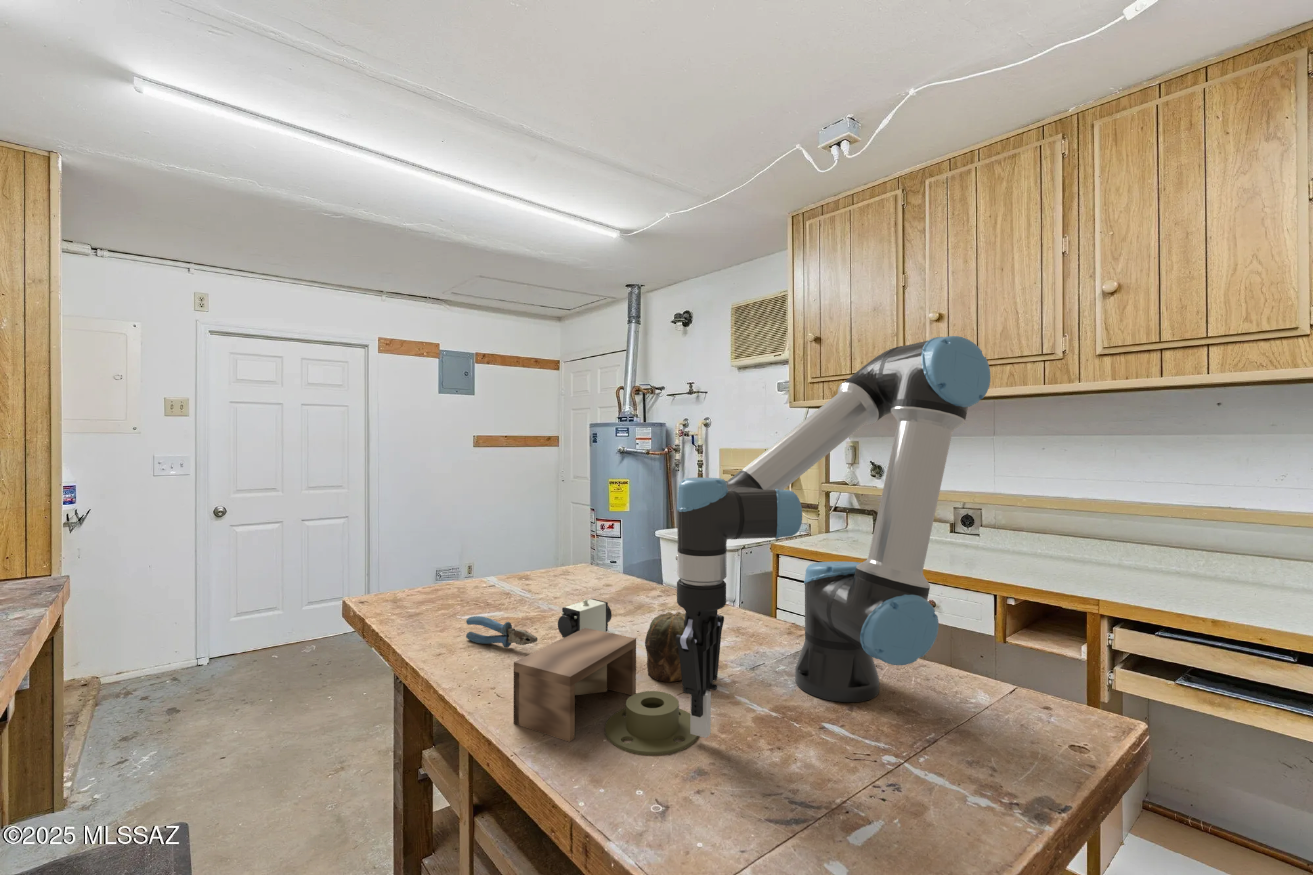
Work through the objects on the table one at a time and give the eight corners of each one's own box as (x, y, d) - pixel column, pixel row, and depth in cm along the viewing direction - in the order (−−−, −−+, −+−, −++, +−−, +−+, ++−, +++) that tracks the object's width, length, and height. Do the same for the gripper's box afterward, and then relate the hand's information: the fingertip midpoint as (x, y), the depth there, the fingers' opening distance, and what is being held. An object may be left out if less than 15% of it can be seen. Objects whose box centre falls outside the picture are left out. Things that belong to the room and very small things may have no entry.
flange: (585, 703, 92) (654, 737, 82) (650, 675, 103) (718, 701, 93) (585, 732, 92) (654, 770, 82) (650, 701, 103) (718, 730, 93)
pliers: (539, 653, 125) (539, 626, 124) (532, 657, 123) (532, 629, 123) (471, 638, 134) (471, 612, 134) (464, 640, 132) (464, 615, 132)
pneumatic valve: (612, 650, 126) (612, 595, 126) (572, 667, 117) (572, 608, 117) (594, 644, 130) (594, 591, 130) (554, 660, 121) (554, 603, 121)
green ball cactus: (697, 688, 108) (697, 624, 108) (639, 683, 110) (640, 620, 110) (704, 665, 118) (704, 607, 118) (651, 661, 120) (651, 603, 120)
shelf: (635, 693, 106) (636, 638, 106) (569, 741, 89) (570, 676, 89) (584, 679, 111) (584, 627, 111) (513, 723, 94) (513, 662, 94)
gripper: (697, 568, 96) (696, 710, 96) (659, 585, 84) (658, 747, 85) (740, 573, 92) (739, 721, 92) (706, 592, 81) (705, 761, 81)
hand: (700, 733), depth 88 cm, fingers closed
